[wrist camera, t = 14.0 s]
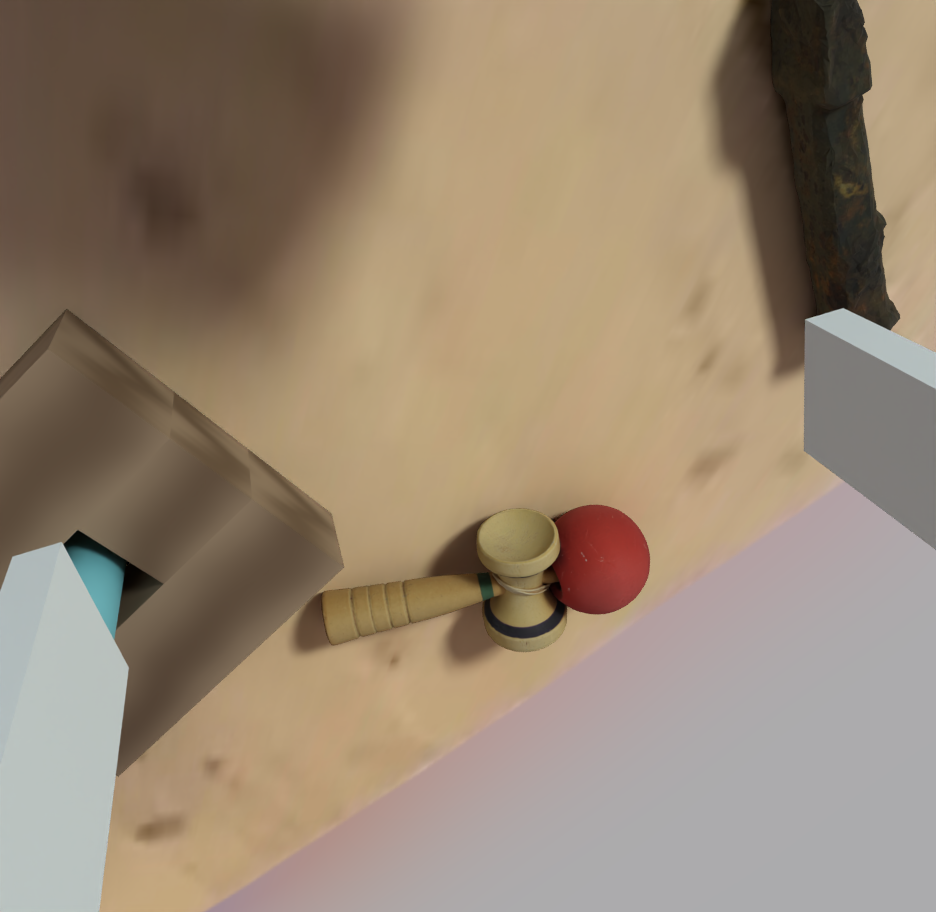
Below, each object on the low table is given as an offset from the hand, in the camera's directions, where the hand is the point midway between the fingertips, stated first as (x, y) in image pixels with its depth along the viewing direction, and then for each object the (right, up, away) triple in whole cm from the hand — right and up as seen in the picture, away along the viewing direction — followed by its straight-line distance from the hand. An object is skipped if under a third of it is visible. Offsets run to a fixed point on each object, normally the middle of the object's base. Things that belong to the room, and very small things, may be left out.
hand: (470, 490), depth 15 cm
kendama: (0, -5, +35) cm, 35 cm away
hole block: (-18, -3, +27) cm, 33 cm away
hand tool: (+16, +15, +29) cm, 36 cm away
